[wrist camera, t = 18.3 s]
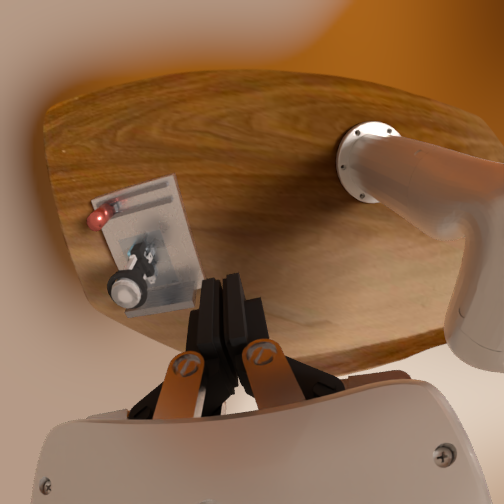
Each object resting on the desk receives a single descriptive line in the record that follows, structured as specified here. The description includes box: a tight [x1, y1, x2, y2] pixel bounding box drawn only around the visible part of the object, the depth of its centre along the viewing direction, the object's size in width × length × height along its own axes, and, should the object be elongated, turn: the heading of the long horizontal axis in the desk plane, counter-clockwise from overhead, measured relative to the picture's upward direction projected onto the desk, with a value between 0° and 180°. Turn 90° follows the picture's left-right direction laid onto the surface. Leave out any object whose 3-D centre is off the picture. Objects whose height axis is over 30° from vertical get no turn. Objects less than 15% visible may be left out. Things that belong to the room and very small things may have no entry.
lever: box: [87, 203, 118, 231], centre depth 33 cm, size 3×2×5 cm
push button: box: [107, 242, 156, 309], centre depth 35 cm, size 7×5×10 cm
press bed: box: [91, 173, 206, 318], centre depth 37 cm, size 13×18×6 cm
